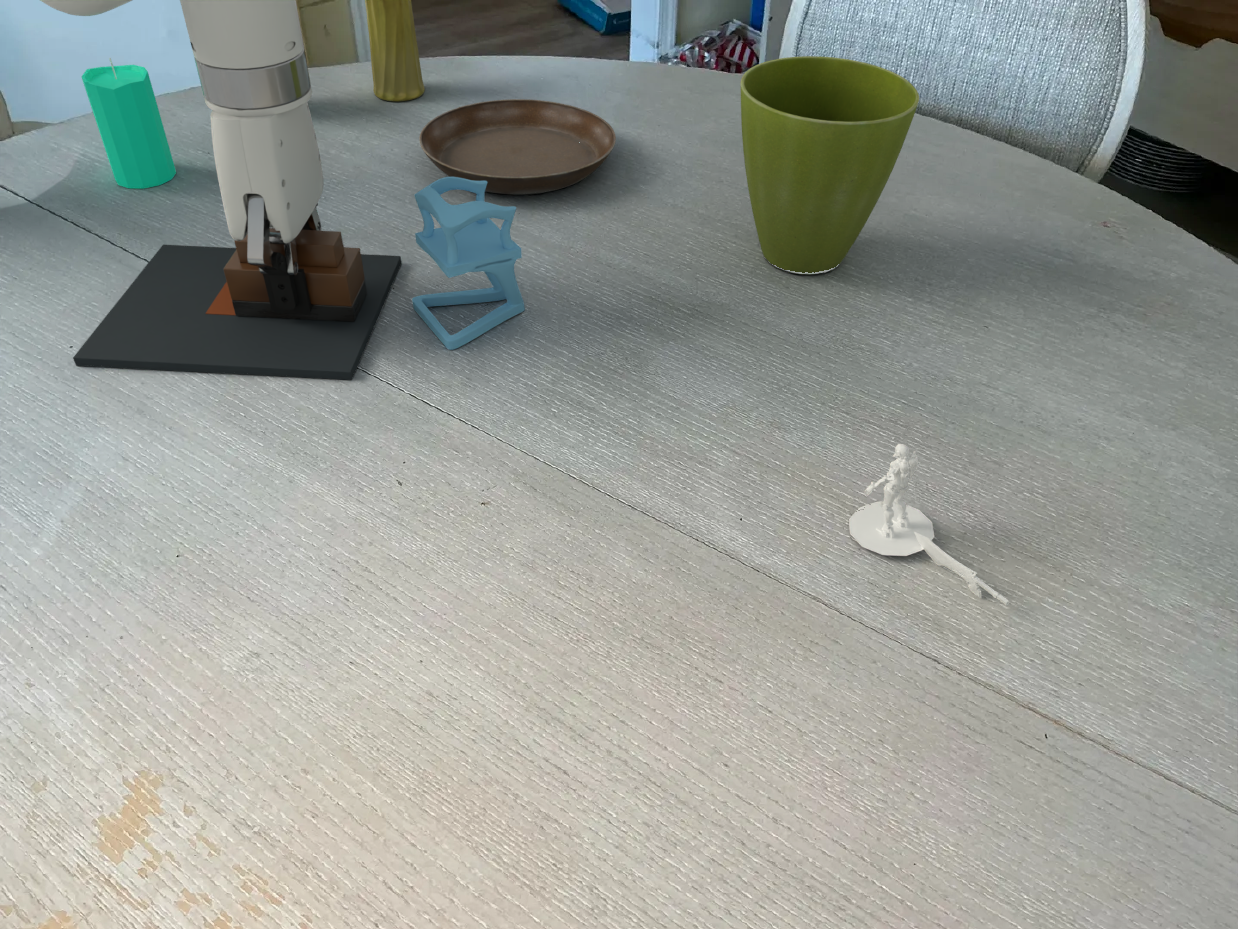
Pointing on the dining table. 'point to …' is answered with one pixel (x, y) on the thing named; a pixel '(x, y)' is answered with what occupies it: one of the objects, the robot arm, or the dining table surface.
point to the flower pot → (819, 152)
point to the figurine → (904, 523)
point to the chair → (468, 255)
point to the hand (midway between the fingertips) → (301, 293)
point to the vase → (394, 50)
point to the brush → (327, 276)
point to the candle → (130, 125)
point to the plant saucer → (518, 144)
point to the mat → (226, 323)
